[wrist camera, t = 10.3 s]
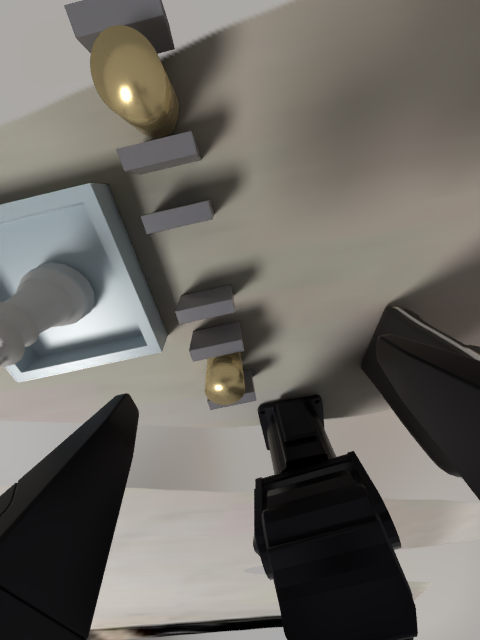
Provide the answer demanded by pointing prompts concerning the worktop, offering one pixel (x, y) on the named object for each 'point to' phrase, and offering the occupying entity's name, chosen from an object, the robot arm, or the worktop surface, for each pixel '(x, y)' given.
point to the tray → (95, 265)
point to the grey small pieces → (150, 20)
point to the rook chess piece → (42, 307)
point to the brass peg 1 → (134, 81)
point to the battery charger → (409, 328)
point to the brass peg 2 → (225, 379)
